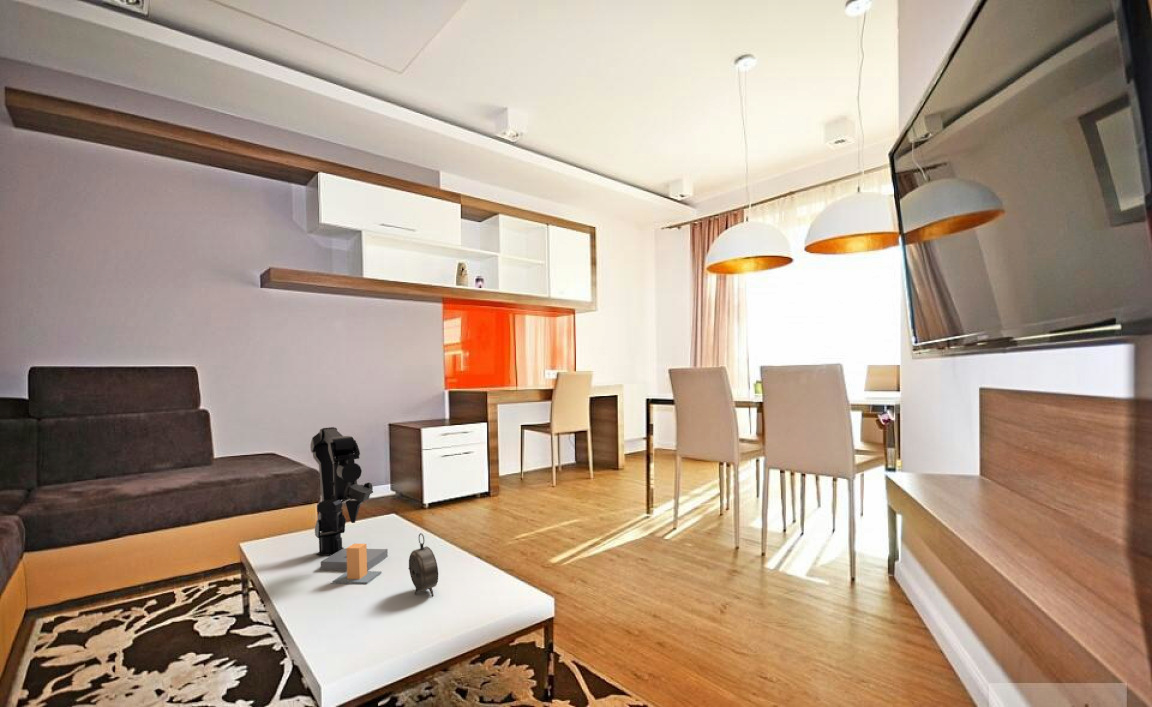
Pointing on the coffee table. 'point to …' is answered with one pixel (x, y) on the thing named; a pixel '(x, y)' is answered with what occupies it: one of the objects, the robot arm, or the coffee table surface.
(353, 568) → the orange block
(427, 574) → the alarm clock
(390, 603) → the coffee table surface
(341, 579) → the mat
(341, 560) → the holder
